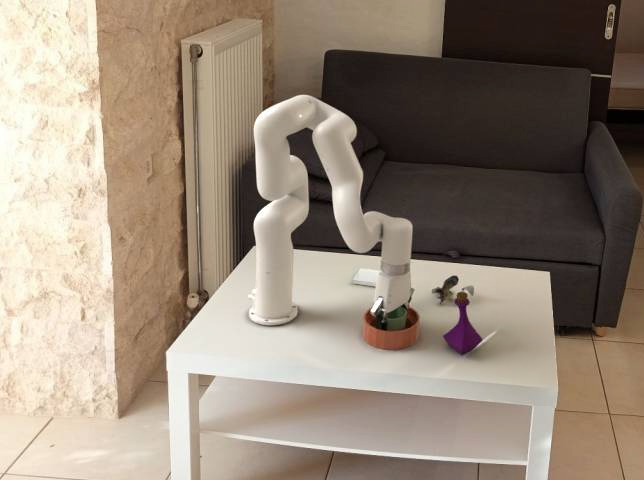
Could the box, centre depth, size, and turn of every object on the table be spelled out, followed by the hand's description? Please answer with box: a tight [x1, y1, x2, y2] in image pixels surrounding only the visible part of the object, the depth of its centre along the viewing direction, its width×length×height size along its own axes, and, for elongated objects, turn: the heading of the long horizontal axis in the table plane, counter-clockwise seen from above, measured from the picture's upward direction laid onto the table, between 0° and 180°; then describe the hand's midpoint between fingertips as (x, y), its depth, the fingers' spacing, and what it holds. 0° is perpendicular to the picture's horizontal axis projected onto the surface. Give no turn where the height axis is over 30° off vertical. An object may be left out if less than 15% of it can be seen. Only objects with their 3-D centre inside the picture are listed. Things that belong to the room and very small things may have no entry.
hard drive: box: [352, 267, 381, 287], centre depth 221 cm, size 2×8×12 cm
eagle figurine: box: [431, 275, 460, 306], centre depth 214 cm, size 8×7×9 cm
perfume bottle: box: [442, 285, 484, 356], centre depth 187 cm, size 8×8×18 cm
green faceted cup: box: [381, 306, 407, 331], centre depth 191 cm, size 8×8×6 cm
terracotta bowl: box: [362, 305, 421, 351], centre depth 191 cm, size 15×15×6 cm
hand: (391, 327), depth 191 cm, fingers closed on green faceted cup, 7 cm apart
